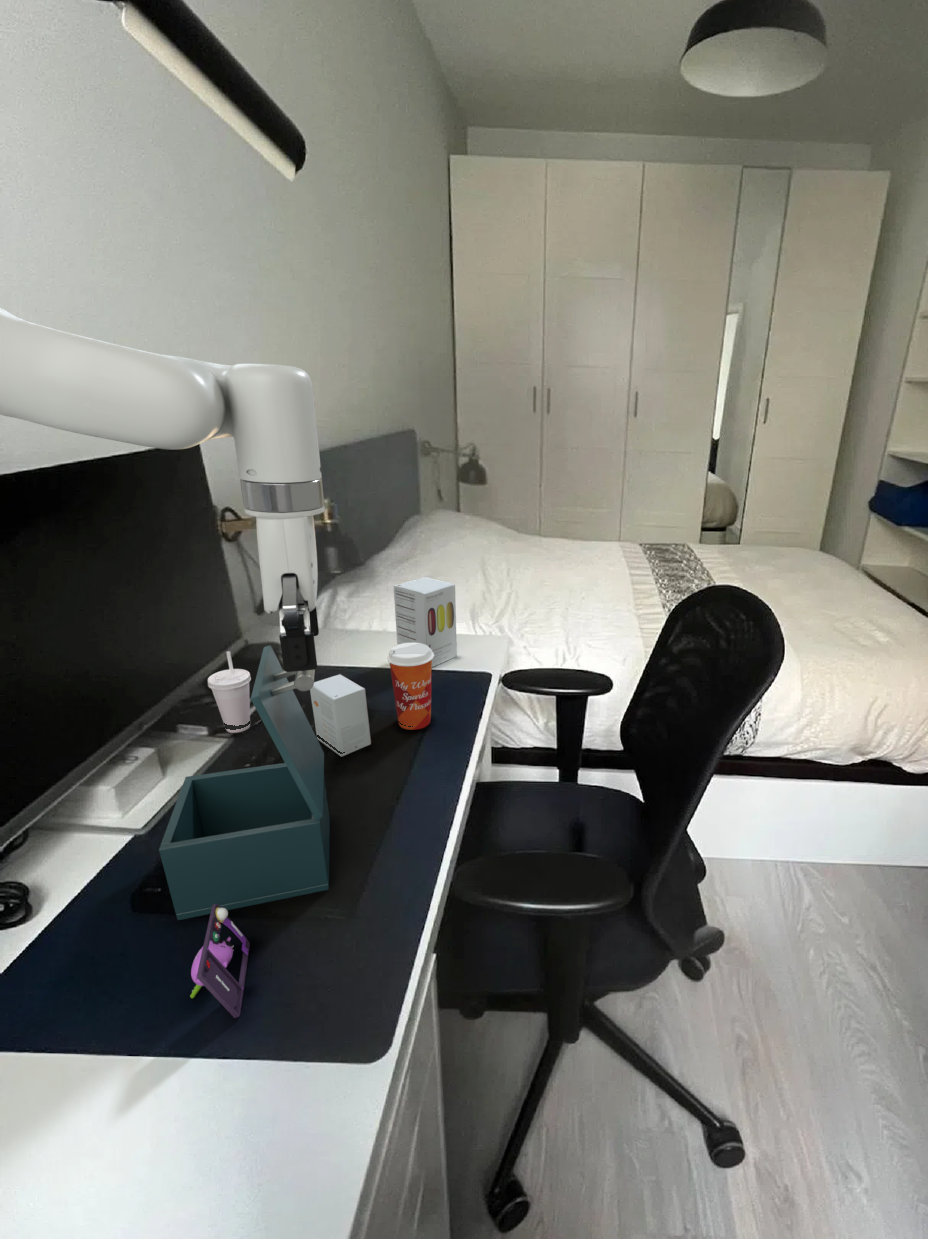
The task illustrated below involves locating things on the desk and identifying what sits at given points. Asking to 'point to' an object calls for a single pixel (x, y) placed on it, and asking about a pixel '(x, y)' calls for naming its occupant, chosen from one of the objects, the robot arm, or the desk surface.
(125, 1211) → the desk surface
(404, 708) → the paper cup
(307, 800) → the bin lid
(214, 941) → the purple photo frame
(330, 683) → the small box
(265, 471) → the robot arm
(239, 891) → the bin
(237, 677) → the smoothie
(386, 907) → the desk surface
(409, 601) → the supplement box
